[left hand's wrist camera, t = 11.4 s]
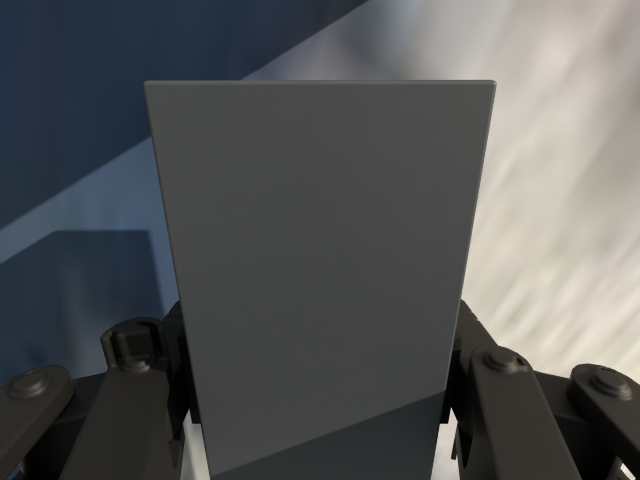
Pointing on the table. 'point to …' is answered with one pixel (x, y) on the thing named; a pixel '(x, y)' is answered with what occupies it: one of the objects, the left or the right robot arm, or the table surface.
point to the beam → (320, 264)
